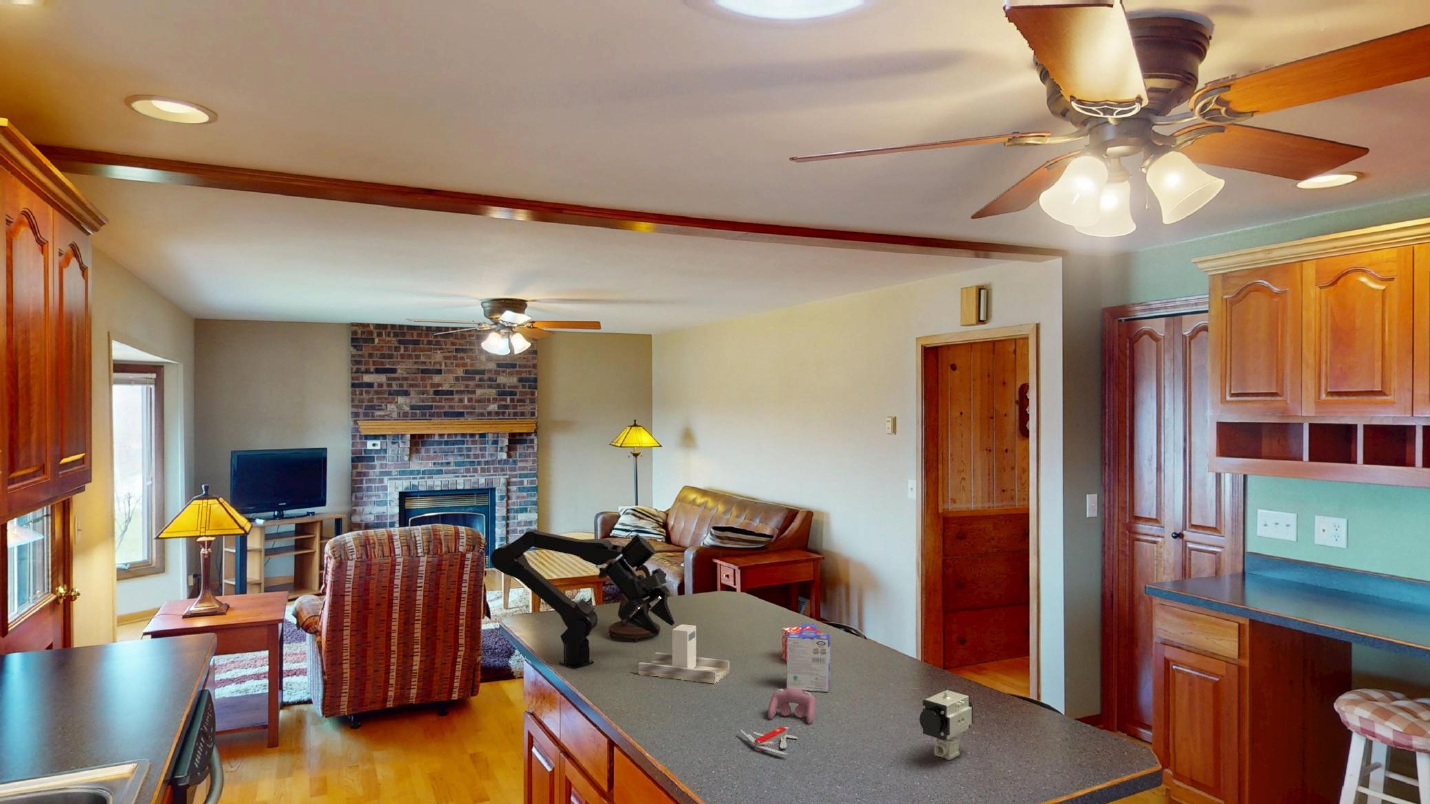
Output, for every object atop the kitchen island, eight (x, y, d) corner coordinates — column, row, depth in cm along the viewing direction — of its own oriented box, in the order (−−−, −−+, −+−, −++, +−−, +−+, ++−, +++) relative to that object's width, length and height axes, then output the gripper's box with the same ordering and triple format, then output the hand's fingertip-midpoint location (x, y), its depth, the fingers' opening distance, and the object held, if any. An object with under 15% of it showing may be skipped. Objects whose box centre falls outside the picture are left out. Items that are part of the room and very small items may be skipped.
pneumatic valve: (918, 761, 155) (918, 695, 155) (952, 743, 163) (952, 681, 163) (944, 770, 150) (944, 703, 151) (978, 752, 159) (978, 688, 159)
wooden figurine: (632, 626, 250) (632, 559, 250) (670, 634, 241) (670, 565, 242) (597, 637, 238) (597, 567, 238) (637, 646, 229) (637, 573, 230)
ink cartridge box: (830, 685, 197) (830, 623, 197) (829, 693, 192) (829, 629, 192) (788, 682, 199) (788, 621, 199) (786, 690, 194) (786, 627, 194)
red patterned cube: (809, 655, 221) (809, 625, 221) (823, 664, 214) (823, 633, 214) (781, 658, 218) (781, 628, 219) (794, 667, 211) (794, 636, 211)
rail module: (672, 670, 204) (672, 629, 204) (681, 664, 209) (681, 624, 209) (687, 672, 202) (687, 631, 203) (696, 666, 208) (696, 625, 208)
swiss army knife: (762, 726, 172) (762, 716, 172) (819, 742, 164) (819, 732, 164) (727, 743, 163) (727, 732, 163) (785, 761, 155) (785, 750, 155)
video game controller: (816, 726, 175) (818, 692, 178) (812, 723, 172) (815, 688, 175) (770, 721, 178) (773, 687, 181) (765, 718, 175) (769, 683, 178)
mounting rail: (638, 674, 205) (638, 663, 205) (655, 663, 214) (655, 652, 214) (714, 684, 197) (714, 672, 198) (729, 672, 207) (729, 660, 207)
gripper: (629, 566, 201) (671, 616, 197) (662, 553, 218) (701, 600, 214) (600, 595, 204) (640, 646, 200) (635, 581, 221) (672, 627, 217)
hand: (665, 628), depth 208 cm, fingers open, 9 cm apart
